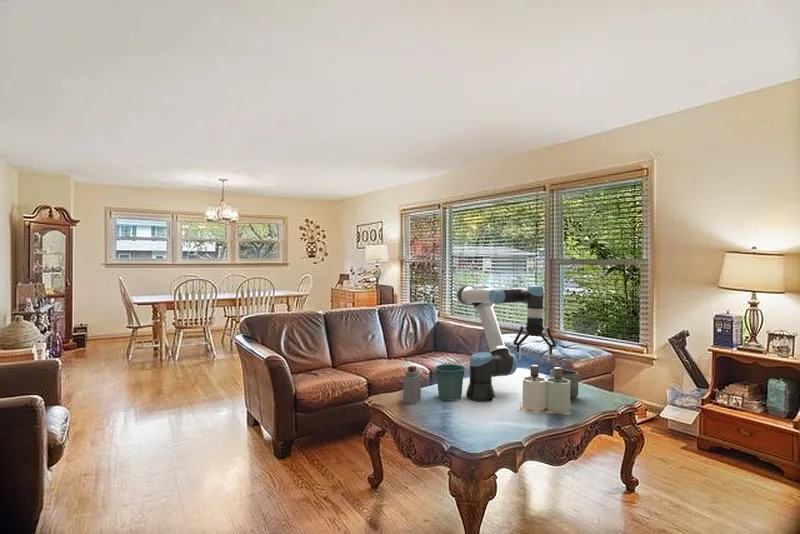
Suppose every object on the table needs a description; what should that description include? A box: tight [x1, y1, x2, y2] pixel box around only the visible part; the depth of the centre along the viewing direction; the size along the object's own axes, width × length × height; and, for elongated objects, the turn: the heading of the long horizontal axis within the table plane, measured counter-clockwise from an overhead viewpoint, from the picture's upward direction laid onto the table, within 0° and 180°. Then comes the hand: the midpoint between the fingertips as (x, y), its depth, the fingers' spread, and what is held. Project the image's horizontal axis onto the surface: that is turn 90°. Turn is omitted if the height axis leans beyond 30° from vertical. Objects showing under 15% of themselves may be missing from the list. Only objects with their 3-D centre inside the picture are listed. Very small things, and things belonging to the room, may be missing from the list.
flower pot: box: [434, 363, 466, 401], centre depth 251 cm, size 16×16×16 cm
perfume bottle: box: [402, 365, 422, 405], centre depth 244 cm, size 7×7×18 cm
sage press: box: [545, 366, 571, 413], centre depth 231 cm, size 11×14×20 cm
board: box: [518, 401, 573, 416], centre depth 231 cm, size 24×14×1 cm, turn 76°
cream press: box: [522, 375, 546, 411], centre depth 233 cm, size 11×14×14 cm
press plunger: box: [529, 364, 540, 382], centre depth 232 cm, size 8×8×15 cm
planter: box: [549, 368, 580, 402], centre depth 248 cm, size 14×14×15 cm
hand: (534, 359), depth 232 cm, fingers open, 13 cm apart
